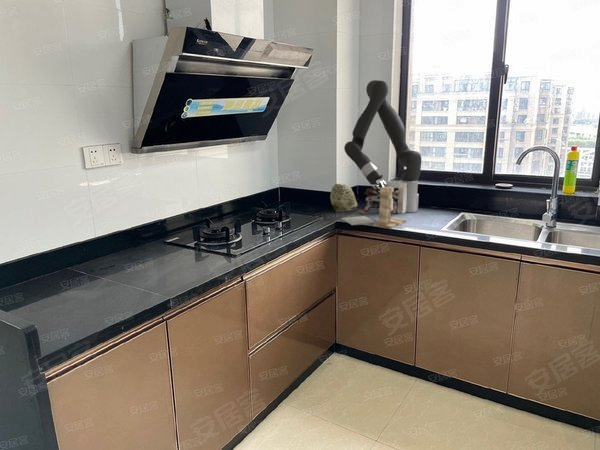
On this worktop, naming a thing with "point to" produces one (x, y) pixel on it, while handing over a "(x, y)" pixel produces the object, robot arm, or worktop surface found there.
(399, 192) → the link
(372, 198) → the toy blaster
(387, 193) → the stand
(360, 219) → the mat
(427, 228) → the worktop surface
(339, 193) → the fossil
